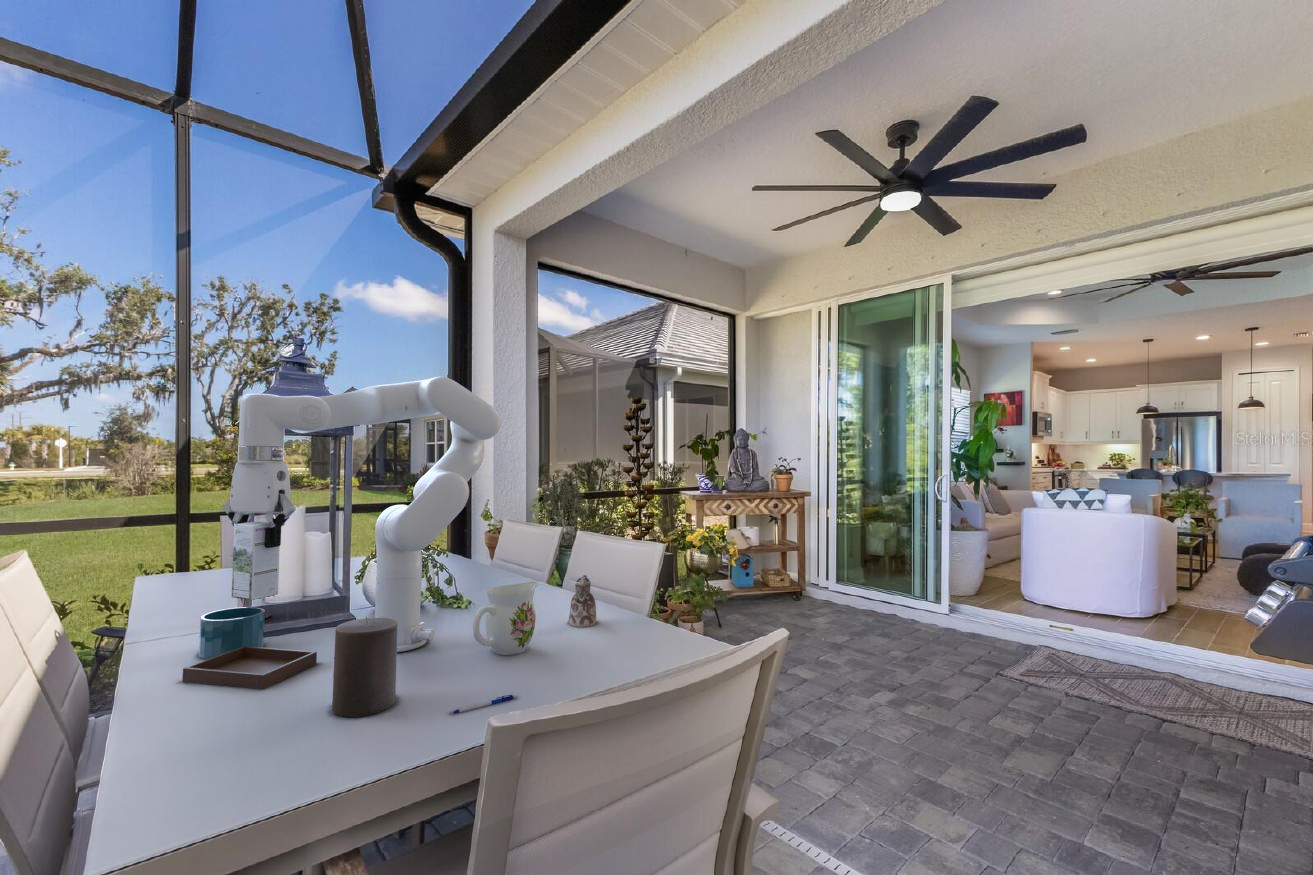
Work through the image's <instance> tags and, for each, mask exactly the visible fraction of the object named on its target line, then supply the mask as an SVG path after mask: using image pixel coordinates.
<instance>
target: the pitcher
mask: <svg viewBox="0 0 1313 875" xmlns="http://www.w3.org/2000/svg"><path fill="white" fill-rule="evenodd" d="M539 584H540V582H539V581H527V582H522V583H513V584H505V585H501V586H496V587H493V588H490V589H488V590H487V593H486V594H487V598H488V605H485V606H481V607H480V608H479V609H478V610H477V611H476V613H475V615H474V618H473V623H472V630H473V631H472V632H473V637H474V639H475V641H476V642H477V643H478V644H480V645H481V646H484V647H491V649H492V650H493V651H494V653H495V654H498V655H501V656H511V655H518V654H521V653H523V652H525V651H526V649H527V647H528V646H529V645H530V643H531V641H532V638H533V635H534V631H535V629H536V621H537V620H536V618H537V613H536V607H535V604H534V596H535V591H536V588H537V587H538V586H539ZM484 614H485V617H484V627H485V635H486V638H487V639H486V638H484V637H483V636H482V634H481V631H480V623H481V621H482V620H481V619H482V617H483V615H484Z"/></svg>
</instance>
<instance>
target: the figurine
mask: <svg viewBox="0 0 1313 875" xmlns="http://www.w3.org/2000/svg"><path fill="white" fill-rule="evenodd" d="M591 584H592V583H591V581H590V579H589V578H588V575H587V574H583V575H582V576H580V577H578V579H577V580H576V581H575V583H574V587H575V593H574V594H573V595H572V598H571V600H570V608H569V615H568V624H570V625H571V626H572V627H578V628H584V627H593V626H594V625H596V623H597V605H596V604H597V603H596V600H595V596H594V594H592V593H591Z"/></svg>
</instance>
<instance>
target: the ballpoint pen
mask: <svg viewBox="0 0 1313 875" xmlns="http://www.w3.org/2000/svg"><path fill="white" fill-rule="evenodd" d="M511 700H514V695H513V694H507V695H502V696H498V697H495V699H492V700H490V701H489V700H488V701H485V702H482V703H477V704H473V705H469V706H465V707H462V708H458V709H456V710H454V711H453V714H460V713H463V712H467V711H471V710H475V709H479V708H484V707H487V706H492V705H496V704H499V703H504V702H507V701H511Z"/></svg>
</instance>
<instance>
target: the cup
mask: <svg viewBox="0 0 1313 875" xmlns="http://www.w3.org/2000/svg"><path fill="white" fill-rule="evenodd" d="M265 620H266V619H265V610H264V609H263V608H259V607H242V606H241V607H231V608H223V609H219V610H214V611H210V612H207V613H204V614H202V615H201V616H200V618H199V637H198V638H199V639H198V657H199V658H201V659H203V660H207V659H210V658H213V657H216V656H218V655H221V654H224V653H227V652H229V651H232V650H235V649H238V648H240V647H243V646H250V647H263V648H264V641H265V639H264V637H265Z"/></svg>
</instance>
